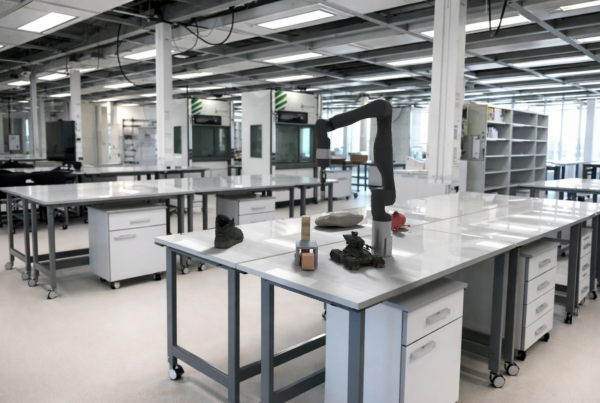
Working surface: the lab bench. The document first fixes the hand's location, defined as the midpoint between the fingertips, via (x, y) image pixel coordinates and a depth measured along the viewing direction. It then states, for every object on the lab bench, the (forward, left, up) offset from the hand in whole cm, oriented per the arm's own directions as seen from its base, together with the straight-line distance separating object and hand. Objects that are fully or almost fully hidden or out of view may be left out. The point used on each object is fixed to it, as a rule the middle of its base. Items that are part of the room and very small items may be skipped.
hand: (322, 190), depth 249 cm
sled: (-16, +34, -28) cm, 47 cm away
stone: (+25, -53, -29) cm, 65 cm away
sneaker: (+40, +28, -29) cm, 57 cm away
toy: (-9, -70, -29) cm, 77 cm away
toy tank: (-32, +18, -30) cm, 47 cm away
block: (-22, +42, -27) cm, 55 cm away
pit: (-7, +24, -29) cm, 38 cm away
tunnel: (-14, +32, -29) cm, 45 cm away
